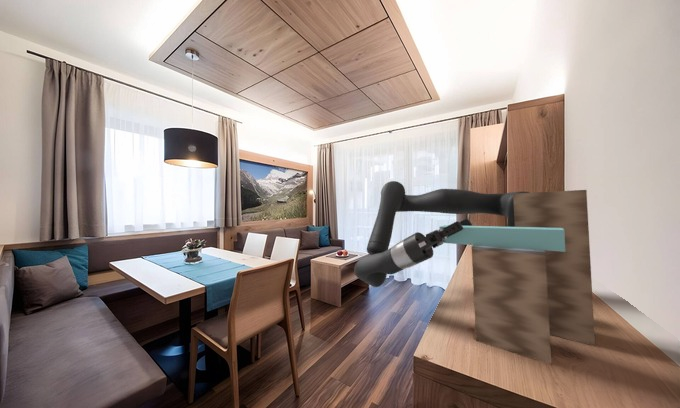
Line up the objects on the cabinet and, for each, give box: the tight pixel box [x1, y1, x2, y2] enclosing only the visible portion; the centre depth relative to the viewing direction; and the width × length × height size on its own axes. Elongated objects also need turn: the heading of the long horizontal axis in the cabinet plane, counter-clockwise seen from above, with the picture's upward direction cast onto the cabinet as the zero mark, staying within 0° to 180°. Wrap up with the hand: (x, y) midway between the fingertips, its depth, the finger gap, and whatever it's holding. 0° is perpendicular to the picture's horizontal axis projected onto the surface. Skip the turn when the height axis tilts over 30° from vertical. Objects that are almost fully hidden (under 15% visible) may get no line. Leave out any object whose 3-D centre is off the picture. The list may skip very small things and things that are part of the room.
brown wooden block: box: [471, 245, 552, 365], centre depth 48 cm, size 12×8×21 cm, turn 48°
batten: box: [439, 224, 565, 252], centre depth 50 cm, size 22×4×4 cm, turn 48°
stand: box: [513, 189, 596, 347], centre depth 52 cm, size 12×7×32 cm, turn 48°
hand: (465, 223), depth 53 cm, fingers open, 8 cm apart
